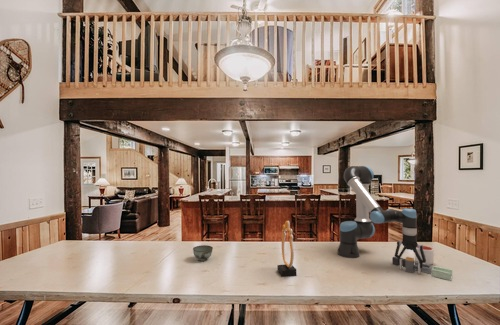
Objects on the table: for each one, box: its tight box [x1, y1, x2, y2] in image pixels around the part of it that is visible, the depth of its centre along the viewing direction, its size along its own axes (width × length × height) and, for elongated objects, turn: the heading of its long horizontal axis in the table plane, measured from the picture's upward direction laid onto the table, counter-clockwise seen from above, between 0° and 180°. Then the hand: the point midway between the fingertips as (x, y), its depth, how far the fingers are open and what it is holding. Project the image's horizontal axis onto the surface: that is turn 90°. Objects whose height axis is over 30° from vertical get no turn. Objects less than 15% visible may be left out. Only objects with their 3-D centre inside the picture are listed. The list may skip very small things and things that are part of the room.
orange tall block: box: [404, 256, 415, 274], centre depth 159 cm, size 4×4×8 cm
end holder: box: [431, 265, 453, 282], centre depth 152 cm, size 9×8×4 cm
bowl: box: [192, 244, 214, 262], centre depth 179 cm, size 14×13×8 cm
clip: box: [414, 261, 434, 275], centre depth 161 cm, size 9×7×3 cm
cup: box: [414, 245, 434, 266], centre depth 174 cm, size 10×10×10 cm
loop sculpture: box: [277, 220, 297, 278], centre depth 156 cm, size 17×9×32 cm, turn 12°
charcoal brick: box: [391, 256, 406, 268], centre depth 169 cm, size 8×3×4 cm, turn 47°
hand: (410, 270), depth 159 cm, fingers open, 9 cm apart
